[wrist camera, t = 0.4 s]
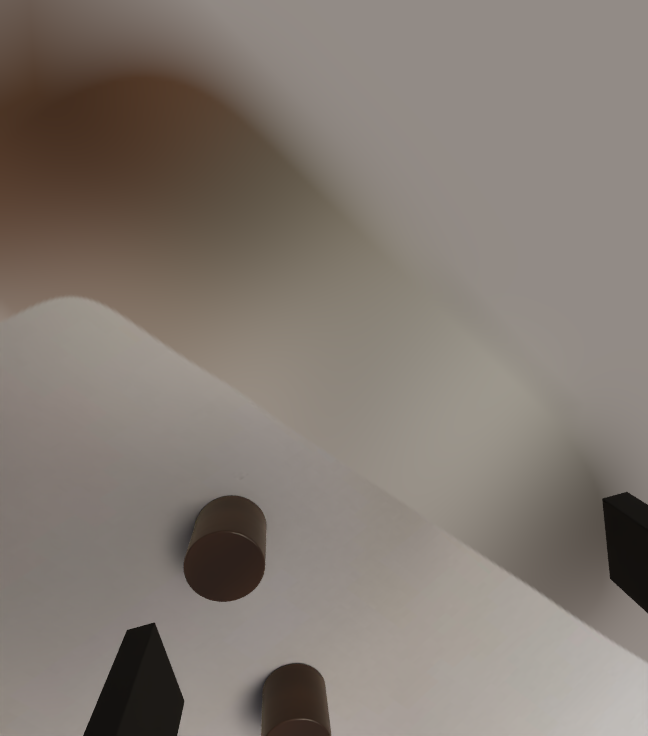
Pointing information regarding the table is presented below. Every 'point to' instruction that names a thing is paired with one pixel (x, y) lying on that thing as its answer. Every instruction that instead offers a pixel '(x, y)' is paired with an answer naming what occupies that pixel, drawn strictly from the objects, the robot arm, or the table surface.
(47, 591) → the table surface
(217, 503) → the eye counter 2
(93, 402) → the table surface
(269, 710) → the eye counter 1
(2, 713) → the table surface
